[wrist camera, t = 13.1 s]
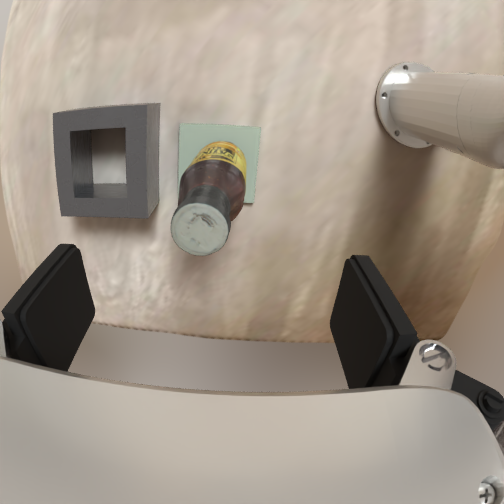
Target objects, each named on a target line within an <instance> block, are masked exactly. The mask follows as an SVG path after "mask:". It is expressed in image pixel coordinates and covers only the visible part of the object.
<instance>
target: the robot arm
mask: <svg viewBox="0 0 504 504" xmlns="http://www.w3.org/2000/svg"><path fill="white" fill-rule="evenodd" d="M403 68H404V69H403ZM382 94H383V97H382ZM376 106H377V111H378V115H379V118H380V121H381V123H382V125H383V127H384V128H385V130H386V131H387V132H388V134H389V135H390V136H391V137H392V138H393V139H395V140H396V141H398V142H399V143H401V144H403V145H405V146H408V147H412V148H425V147H428V146H431V145H433V144H434V145H437V146H439V147H442V148H445V149H447V150H450V151H452V152H455V153H457V154H460V155H462V156H465V157H467V158H469V159H472V160H474V161H476V162H479V163H481V164H483V165H486V166H488V167H491V168H496V169H504V75H491V74H476V73H456V72H435V71H433V70H432V69H431V68H429V67H427V66H425V65H423V64H421V63H417V62H403V63H399V64H396V65H394V66H393V67H391V68H390V69H389V70H388V71H387V72H386V73H385V74H384V75H383V77H382V78H381V80H380V83H379V85H378V88H377V94H376ZM394 132H395V134H394ZM2 314H3V316H4V318H5V319H4V321H3V322H2V321H1V320H0V504H504V398H503V396H502V395H501V394H500V393H499V392H497V391H496V390H494V389H493V388H491V387H489V386H487V385H485V384H483V383H481V382H479V381H477V380H475V379H473V378H471V377H469V376H467V375H465V374H463V373H461V372H459V371H457V370H455V369H456V358H455V356H454V354H453V352H452V351H451V350H450V349H449V348H448V347H447V346H446V345H444V344H442V343H441V342H438V341H435V340H423V341H421V342H420V341H419V339H418V337H417V332H416V330H415V329H414V327H413V325H412V324H411V322H410V320H409V319H408V317H407V315H406V314H405V312H404V310H403V309H402V307H401V305H400V304H399V302H398V300H397V299H396V297H395V296H394V294H393V292H392V291H391V289H390V288H389V286H388V285H387V283H386V281H385V280H384V278H383V277H382V275H381V274H380V272H379V271H378V269H377V268H376V266H375V265H374V263H373V262H372V260H371V259H370V257H369V256H365V255H352V256H351V258H350V259H347V260H346V261H345V264H344V268H343V273H342V277H341V281H340V285H339V289H338V292H337V296H336V300H335V304H334V308H333V311H332V315H331V319H330V328H331V332H332V335H333V338H334V341H335V344H336V347H337V351H338V354H339V357H340V360H341V363H342V367H343V370H344V373H345V376H346V380H347V383H348V387H349V389H342V390H325V391H303V392H230V391H209V390H193V389H181V388H169V387H160V386H151V385H143V384H135V383H128V382H121V381H115V380H108V379H102V378H97V377H91V376H86V375H81V374H76V373H71V372H67V371H68V369H69V367H70V365H71V362H72V360H73V358H74V356H75V354H76V352H77V350H78V348H79V346H80V344H81V342H82V340H83V338H84V336H85V334H86V332H87V330H88V328H89V326H90V324H91V322H92V320H93V318H94V316H95V307H94V303H93V300H92V296H91V293H90V289H89V285H88V281H87V277H86V273H85V269H84V265H83V260H82V256H81V252H80V250H79V249H78V248H77V247H76V246H75V245H74V244H60V245H58V246H57V247H56V248H55V249H54V251H53V252H52V253H51V254H50V255H49V256H48V257H47V258H46V259H45V260H44V261H43V262H42V263H41V265H40V266H39V267H38V268H37V269H36V270H35V271H34V272H33V274H32V275H31V276H30V277H29V278H28V279H27V280H26V282H25V283H24V284H23V285H22V286H21V288H20V289H19V290H18V291H17V292H16V294H15V295H14V296H13V297H12V299H11V300H10V301H9V302H8V304H7V305H6V306H5V308H4V309H3V310H2Z"/></svg>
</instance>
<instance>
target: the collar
mask: <svg viewBox="0 0 504 504" xmlns="http://www.w3.org/2000/svg"><path fill="white" fill-rule="evenodd" d="M159 123H160V103H144V104H124V105H110V106H99V107H89V108H80V109H73V110H67V111H62V112H57V113H53V135H54V154H55V167H56V178H57V187H58V196H59V203H60V210H61V216H80V217H119V218H149V216H150V215H151V213H152V212H153V210H154V209H155V207H156V206H157V204H158V203H159ZM123 127H126V180H127V184H93V172H92V154H91V129H105V128H123Z"/></svg>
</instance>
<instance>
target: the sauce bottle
mask: <svg viewBox="0 0 504 504" xmlns="http://www.w3.org/2000/svg"><path fill="white" fill-rule="evenodd" d="M246 169H247V164H246V159H245V156H244V154H243V152H242V151H241V150H240V149H239V148H238V147H237V146H236V145H234V144H233V143H231V142H226V141H217V142H213V143H210V144H208V145H206V146H205V147H204V148H202V149H201V151H200V152H199V153H198V154H197V156H196V157H195V158H194V160H193V161H192V162H191V164H190V165H189V166H188V168H187V169H186V170H185V172H184V173H183V175H182V177H181V179H180V185H179V199H178V207H177V209H176V211H175V212H174V215H173V217H172V221H171V233H172V237H173V239H174V241H175V243H176V244H177V245H178V246H179V247H180V248H181V249H182V250H184V251H186V252H188V253H189V254H193V255H198V256H206V255H209V254H212V253H214V252H217V251H218V250H220V249H221V248H222V247H223V246H224V244H225V242H226V240H227V238H228V235H229V232H230V227H231V221H233V220H234V219H235V218H236V216H237V215H238V214H239V212H240V211H241V209H242V207H243V203H244V197H245V193H246Z"/></svg>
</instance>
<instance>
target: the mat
mask: <svg viewBox="0 0 504 504" xmlns="http://www.w3.org/2000/svg"><path fill="white" fill-rule="evenodd" d="M260 133H261V127H250V126H236V125H217V124H185V123H181V124H180V132H179V165H178V199H179V185H180V179H181V177H182V175H183V173H184V172H185V170H186V169H187V168H188V166H189V165H190V164H191V162H192V161H193V160H194V158H195V157H196V156H197V154H198V153H199V152H200V151H201V149H202V148H204V147H205V146H206V145H208V144H210V143H213V142H217V141H226V142H231V143H233V144H234V145H236V146H237V147H238V148H239V149H240V150H241V151H242V152H243V154H244V156H245V159H246V164H247V169H246V193H245V197H244V203H254V196H255V185H256V175H257V164H258V154H259V144H260Z"/></svg>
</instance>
